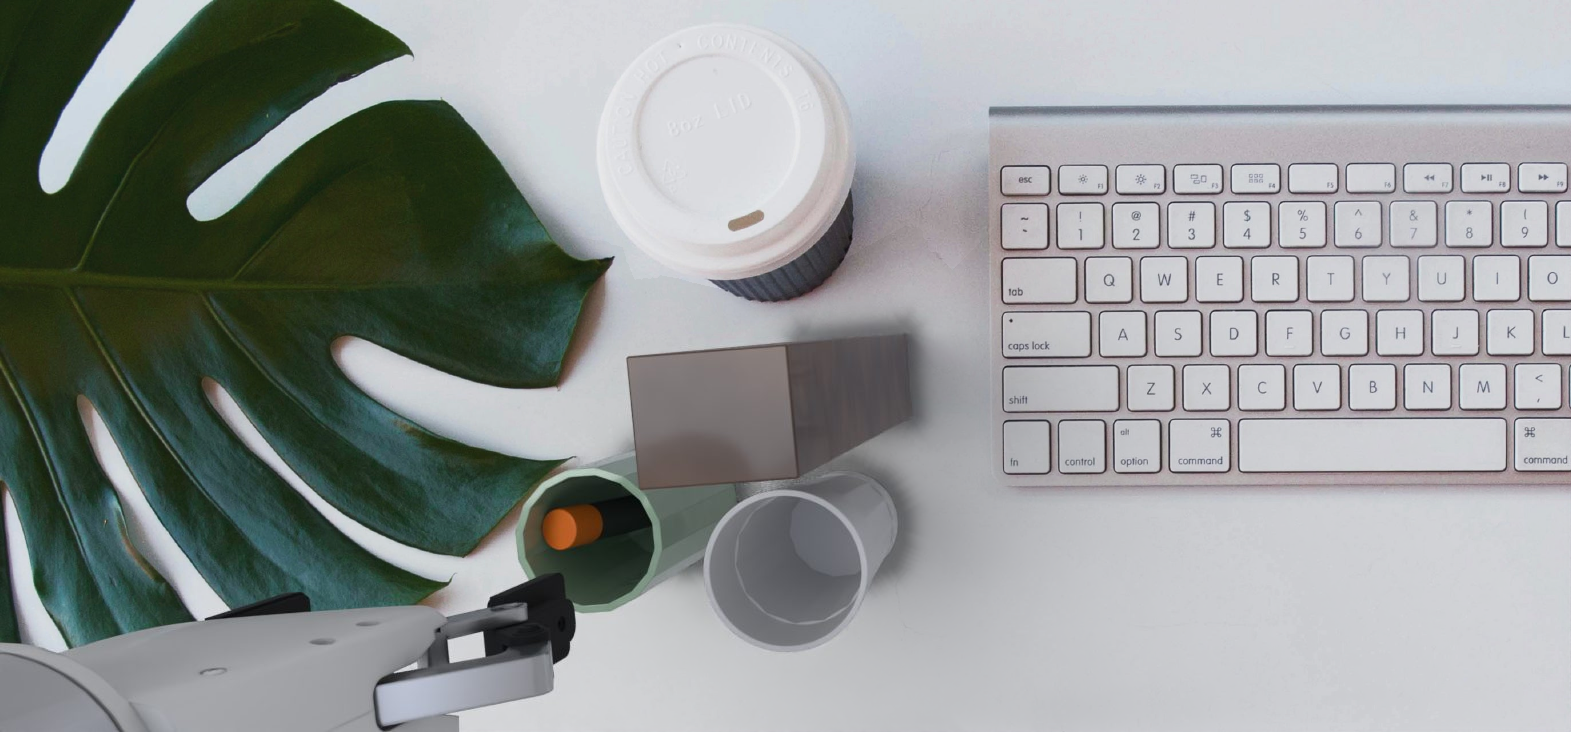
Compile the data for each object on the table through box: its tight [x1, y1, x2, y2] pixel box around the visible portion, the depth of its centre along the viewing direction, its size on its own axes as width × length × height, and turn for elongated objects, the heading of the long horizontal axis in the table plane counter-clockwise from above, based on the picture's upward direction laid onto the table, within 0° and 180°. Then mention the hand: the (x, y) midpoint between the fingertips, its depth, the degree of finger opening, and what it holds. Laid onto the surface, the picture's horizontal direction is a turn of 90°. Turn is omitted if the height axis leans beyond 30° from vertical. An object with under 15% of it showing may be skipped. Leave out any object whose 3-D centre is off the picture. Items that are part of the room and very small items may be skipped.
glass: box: [515, 449, 738, 614], centre depth 59 cm, size 7×7×11 cm
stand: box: [625, 332, 914, 490], centre depth 52 cm, size 5×6×24 cm
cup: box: [703, 470, 899, 653], centre depth 58 cm, size 8×8×12 cm
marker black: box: [542, 495, 653, 550], centre depth 59 cm, size 2×2×9 cm
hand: (431, 622), depth 41 cm, fingers open, 9 cm apart
